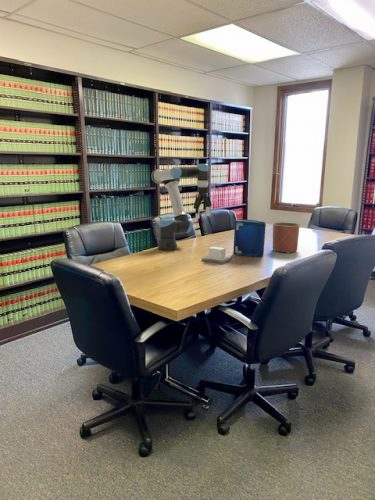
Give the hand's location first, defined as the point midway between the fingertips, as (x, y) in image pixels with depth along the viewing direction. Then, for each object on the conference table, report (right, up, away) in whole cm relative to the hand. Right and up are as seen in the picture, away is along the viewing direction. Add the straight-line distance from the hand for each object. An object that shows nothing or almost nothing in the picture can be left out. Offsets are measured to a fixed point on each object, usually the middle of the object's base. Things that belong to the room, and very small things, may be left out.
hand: (202, 217), depth 260 cm
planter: (+62, -24, +15) cm, 68 cm away
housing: (+9, -29, -13) cm, 33 cm away
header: (+9, -30, -13) cm, 34 cm away
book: (+33, -27, +1) cm, 43 cm away
